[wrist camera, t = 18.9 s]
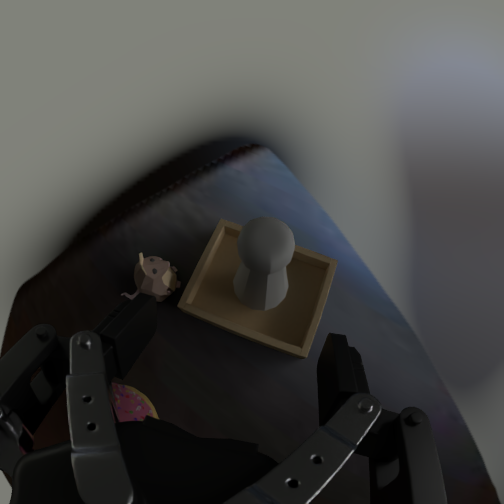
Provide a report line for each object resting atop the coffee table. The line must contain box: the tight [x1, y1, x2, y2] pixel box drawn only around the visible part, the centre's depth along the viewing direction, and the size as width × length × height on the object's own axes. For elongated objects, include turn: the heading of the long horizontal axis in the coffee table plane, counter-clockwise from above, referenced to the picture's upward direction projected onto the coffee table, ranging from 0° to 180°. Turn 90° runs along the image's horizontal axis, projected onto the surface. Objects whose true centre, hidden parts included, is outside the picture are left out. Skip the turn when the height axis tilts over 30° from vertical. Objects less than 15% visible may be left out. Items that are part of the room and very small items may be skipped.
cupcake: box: [112, 383, 159, 422], centre depth 20 cm, size 9×8×12 cm
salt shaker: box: [233, 217, 295, 311], centre depth 26 cm, size 6×6×13 cm
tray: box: [177, 219, 338, 359], centre depth 31 cm, size 15×12×3 cm
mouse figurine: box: [121, 253, 181, 302], centre depth 29 cm, size 5×8×7 cm, turn 110°
